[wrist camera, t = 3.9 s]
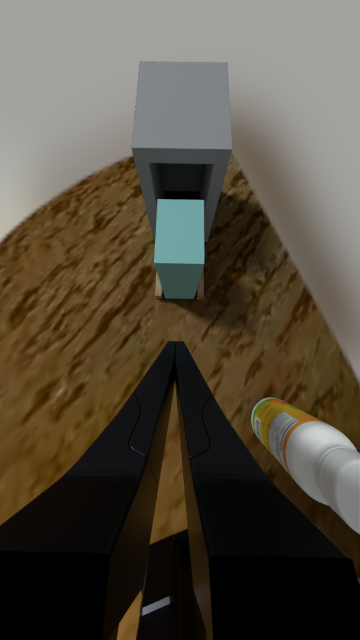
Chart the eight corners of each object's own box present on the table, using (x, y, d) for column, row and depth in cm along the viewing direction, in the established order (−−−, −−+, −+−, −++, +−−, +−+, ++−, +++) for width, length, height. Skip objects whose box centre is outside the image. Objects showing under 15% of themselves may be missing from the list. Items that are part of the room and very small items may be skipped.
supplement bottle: (302, 419, 18) (434, 497, 9) (276, 455, 18) (387, 582, 8) (267, 386, 19) (355, 427, 10) (240, 420, 18) (306, 501, 9)
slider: (193, 298, 21) (204, 263, 12) (165, 298, 21) (154, 262, 12) (194, 246, 22) (203, 181, 13) (167, 246, 22) (158, 180, 13)
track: (202, 299, 21) (203, 296, 20) (156, 298, 21) (155, 295, 20) (202, 241, 23) (203, 236, 21) (159, 241, 23) (158, 235, 21)
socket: (207, 241, 23) (231, 149, 12) (154, 240, 23) (131, 147, 12) (206, 185, 24) (227, 61, 14) (157, 184, 24) (139, 59, 14)
